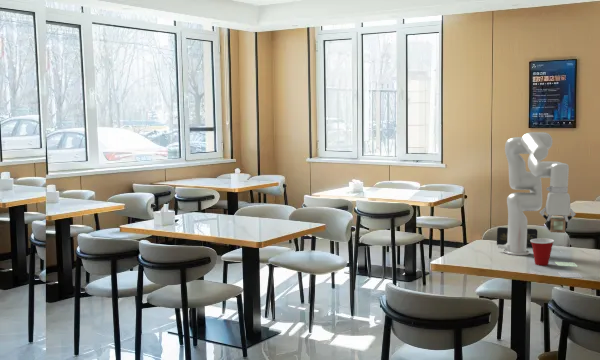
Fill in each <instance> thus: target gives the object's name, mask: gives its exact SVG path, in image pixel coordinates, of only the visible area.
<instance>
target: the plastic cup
mask: <svg viewBox="0 0 600 360" xmlns="http://www.w3.org/2000/svg"><path fill="white" fill-rule="evenodd" d="M530 242H531V244H532V247H531V248H532V253H533V259H534V264H535V265H536V266H545V267H546V266H548V265H549V261H550V258H551V254H552V248H553V245H554V242H555V240H554V239H552V238H545V237H544V238H543V237H542V238H540V237H539V238H538V237H537V239H532V240H530Z"/></svg>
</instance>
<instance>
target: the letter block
mask: <svg viewBox="0 0 600 360" xmlns="http://www.w3.org/2000/svg"><path fill="white" fill-rule="evenodd" d="M550 221H551V226H550V230H548V232H550V233H556V234H557V233H558V234H559V233H560V234H561V233H564V234H565V233H566V231H565V221H566V220H565V219H564V217H561V216H556V217H555V216H554V217H553V216H551V219H550Z"/></svg>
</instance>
